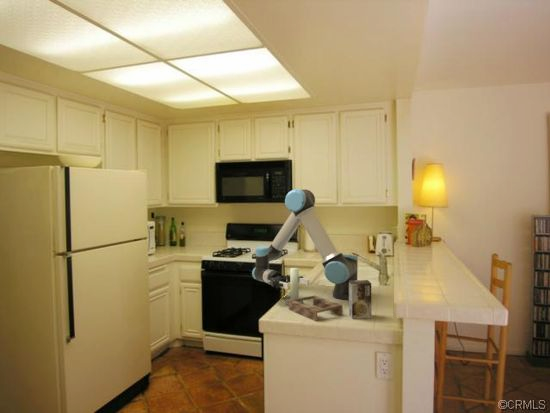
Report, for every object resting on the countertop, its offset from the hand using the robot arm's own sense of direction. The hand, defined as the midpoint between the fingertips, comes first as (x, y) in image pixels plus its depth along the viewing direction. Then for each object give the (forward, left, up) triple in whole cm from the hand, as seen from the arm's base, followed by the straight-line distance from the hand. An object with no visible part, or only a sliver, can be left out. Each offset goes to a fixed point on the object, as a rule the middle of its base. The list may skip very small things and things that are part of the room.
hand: (298, 284), depth 194 cm
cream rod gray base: (0, -3, -11) cm, 11 cm away
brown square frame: (0, +13, -11) cm, 17 cm away
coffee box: (-13, +30, -11) cm, 34 cm away
